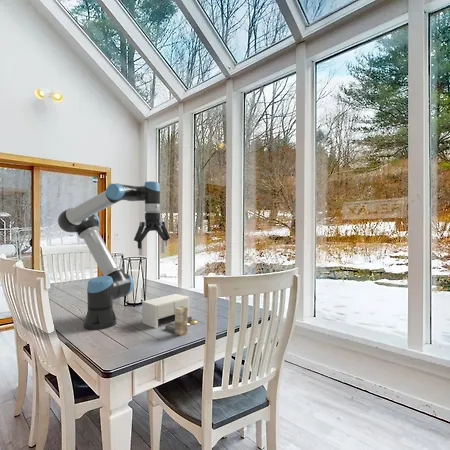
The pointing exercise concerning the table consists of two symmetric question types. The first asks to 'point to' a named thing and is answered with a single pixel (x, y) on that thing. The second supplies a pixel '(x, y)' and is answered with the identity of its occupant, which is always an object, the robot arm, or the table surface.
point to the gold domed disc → (193, 321)
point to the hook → (179, 321)
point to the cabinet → (163, 308)
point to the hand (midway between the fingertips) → (152, 254)
